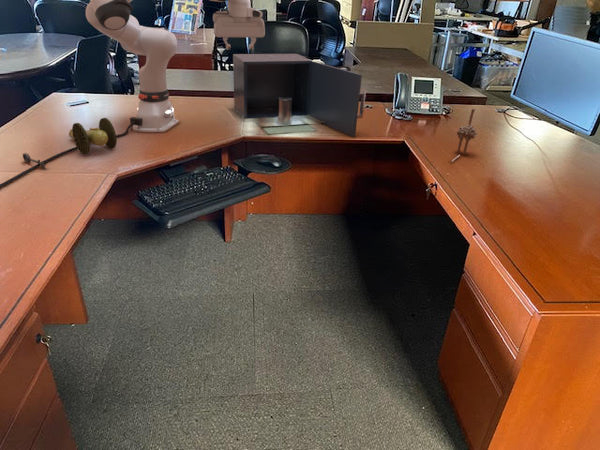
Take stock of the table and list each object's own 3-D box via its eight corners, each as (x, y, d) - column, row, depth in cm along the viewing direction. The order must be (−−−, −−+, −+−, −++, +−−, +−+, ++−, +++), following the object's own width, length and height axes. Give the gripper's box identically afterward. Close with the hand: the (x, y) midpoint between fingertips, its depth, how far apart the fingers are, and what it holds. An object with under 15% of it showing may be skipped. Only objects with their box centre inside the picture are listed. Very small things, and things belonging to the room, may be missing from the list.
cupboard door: (320, 116, 219) (323, 60, 206) (364, 134, 197) (372, 73, 184) (308, 117, 216) (312, 61, 203) (353, 136, 193) (359, 74, 180)
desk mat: (315, 131, 198) (315, 130, 198) (268, 134, 191) (268, 133, 191) (301, 119, 213) (301, 119, 212) (256, 122, 205) (256, 121, 205)
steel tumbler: (292, 126, 201) (294, 99, 196) (280, 127, 199) (280, 100, 194) (288, 122, 206) (289, 96, 201) (275, 123, 204) (276, 96, 199)
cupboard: (309, 117, 217) (312, 60, 204) (244, 121, 206) (243, 61, 193) (294, 106, 233) (297, 53, 220) (234, 109, 222) (232, 54, 209)
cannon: (59, 141, 171) (52, 112, 165) (89, 135, 179) (84, 107, 173) (90, 159, 157) (84, 128, 151) (121, 152, 165) (117, 122, 159)
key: (23, 161, 152) (20, 152, 151) (26, 161, 153) (23, 151, 151) (44, 170, 147) (42, 160, 145) (47, 169, 148) (45, 159, 146)
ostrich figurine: (456, 149, 186) (466, 106, 177) (472, 153, 182) (483, 109, 174) (442, 160, 173) (452, 114, 165) (459, 164, 170) (470, 118, 161)
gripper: (214, 11, 167) (215, 50, 173) (266, 12, 173) (266, 50, 180) (211, 10, 172) (212, 48, 178) (261, 11, 178) (261, 48, 185)
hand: (239, 49), depth 179 cm, fingers open, 8 cm apart
